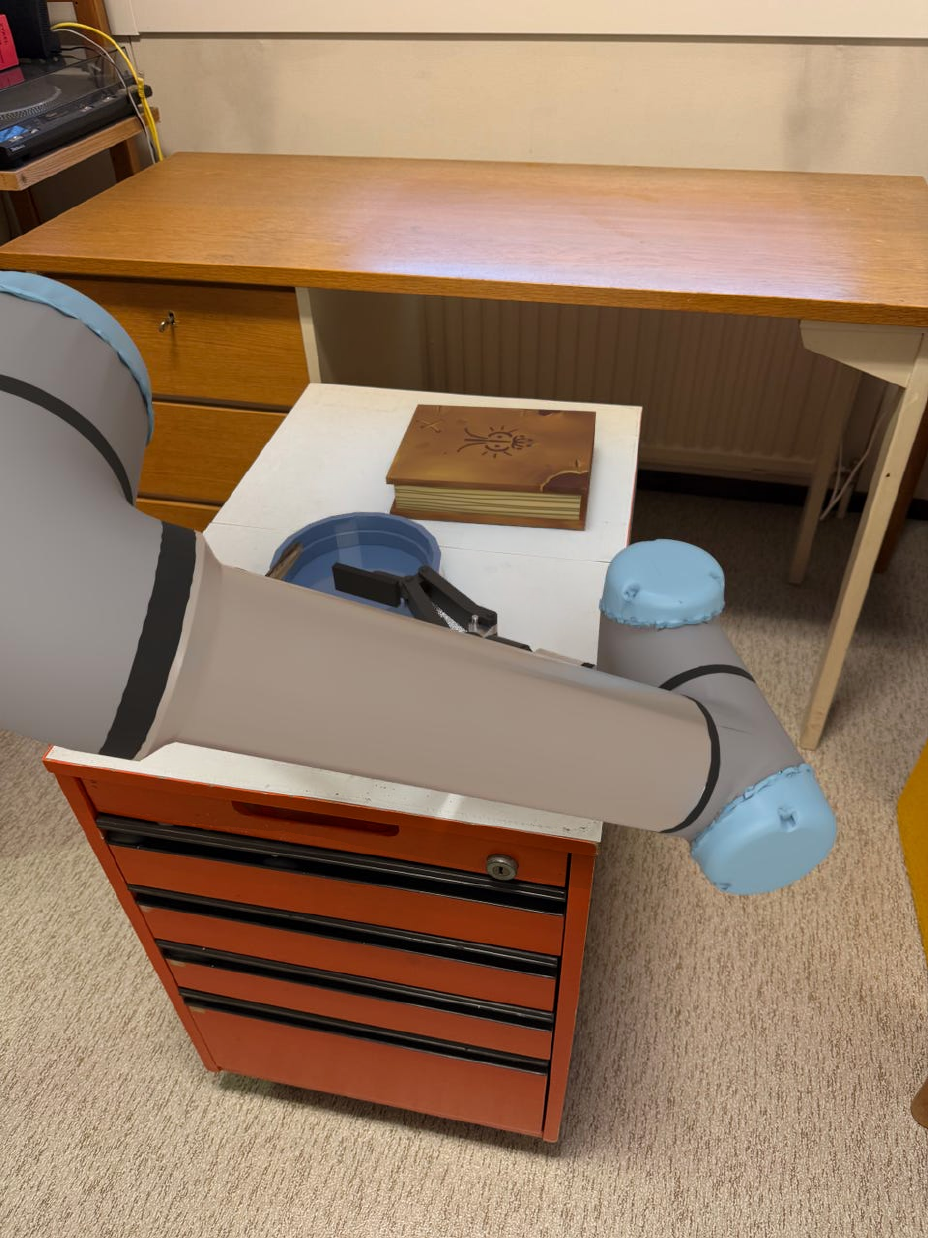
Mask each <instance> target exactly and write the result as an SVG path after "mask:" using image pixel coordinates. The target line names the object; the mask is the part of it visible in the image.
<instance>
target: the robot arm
mask: <svg viewBox="0 0 928 1238" xmlns="http://www.w3.org/2000/svg"><path fill="white" fill-rule="evenodd" d="M152 394H153V393H152V385H151V380H150V375H149V371H148V369H147V366H146V363H145V361H144V358H143V357H142V355H141V352H140V351H139V348H138V347H137V345H136V344H135V342H134V340H133V339H132V337H130V335H129V334H128V332H127V331H126V330H125V328H124V327H123V326H122V325H121V324H120V323H119V322H118V321H117V320H116V318H114V317H113V315H111V313H109V312H108V311H107V310H106V309H104V308H103V307H102V306H101V305H100V304H98V303H97V302H96V301H94V300H93V299H92V298H90V297H88V296H86V295H85V294H83V293H82V292H80V291H79V290H77V289H74V288H73V287H71V286H69V285H67V284H65V283H62V282H60V281H57V280H55V279H52V278H49V277H46V276H44V275H43V276H42V275H39V274H34V273H32V272H31V273H30V272H22V271H15V270H9V271H8V270H6V271H4V270H3V271H2V270H0V729H1V730H5V731H8V732H10V733H13V734H16V735H19V736H22V737H25V738H27V739H30V740H32V741H36V742H40V743H44V744H48V745H51V746H54V747H58V748H62V749H65V750H69V751H73V752H79V753H85V754H89V755H97V756H103V757H110V758H114V759H120V760H127V761H131V762H133V761H134V762H138V763H139V762H141V761H143V760H144V759H146V758H147V757H149V756H151V755H153V754H154V753H155V752H157V751H159V750H160V749H162V748H163V747H165V746H169V745H172V744H175V743H179V744H183V745H189V746H194V747H199V748H205V749H209V750H210V749H211V750H216V751H221V752H226V753H232V754H237V755H242V756H248V757H252V758H253V757H254V758H258V759H265V760H269V761H276V762H280V763H285V764H291V765H297V766H302V767H308V768H312V769H316V770H317V769H318V770H324V771H328V772H334V773H338V774H344V775H349V776H356V777H360V778H366V779H372V780H377V781H383V782H386V783H393V784H398V785H403V786H408V787H414V788H418V789H419V788H420V789H424V790H425V789H426V790H430V791H436V792H440V793H446V794H447V793H448V794H453V795H457V796H463V797H468V798H474V799H478V800H479V799H480V800H484V801H488V802H489V801H490V802H494V803H501V804H507V805H512V806H517V807H521V808H528V809H533V810H538V811H543V812H548V813H555V814H560V815H565V816H571V817H575V818H581V819H587V820H591V821H596V822H597V821H598V822H603V823H608V824H613V825H618V826H624V827H629V828H634V829H641V830H645V831H646V830H647V831H649V832H652V833H658V834H662V835H666V836H670V837H677V838H682V839H683V840H685V841H686V842H687V844H688V846H689V848H690V849H689V850H690V851H689V855H690V857H691V858H690V859H692V861H695V862H696V863H697V865H698V867H699V868H700V870H701V872H702V874H703V875H704V876H705V878H706V880H707V881H708V882H709V883H710V884H712V885H713V886H715V887H716V889H718V890H719V891H722V892H723V893H726V894H730V895H737V896H754V895H761V894H766V893H771V892H775V891H777V890H780V889H782V888H786V887H787V886H789V885H792V884H794V883H796V882H798V881H799V880H801V879H803V878H804V877H806V876H808V875H809V874H810V873H811V871H813V870H814V869H815V868H816V867H817V866H819V865H820V864H821V863H822V862H824V861H825V859H827V857H829V854H830V853H831V851H832V850H833V848H834V846H835V843H836V840H837V837H838V822H837V821H838V820H837V818H836V815H835V813H834V811H833V809H832V807H831V805H830V803H829V802H828V799H827V797H826V796H825V793H824V791H823V789H822V788H821V785H820V783H819V782H818V780H817V778H816V772H815V769H814V768H813V767H812V765H811V764H809V763H807V762H806V760H805V759H804V757H803V756H802V754H801V753H800V751H799V749H798V748H797V746H796V745H795V743H794V741H793V740H792V739H791V737H790V735H789V733H788V732H787V730H786V728H785V727H784V726H783V724H782V722H781V721H780V719H779V717H778V716H777V714H776V712H775V711H774V710H773V708H772V706H771V705H770V703H769V702H768V700H767V698H766V697H765V695H764V693H763V692H762V690H761V689H760V687H759V685H758V684H757V682H756V680H755V678H754V676H753V675H752V674H751V672H750V670H749V668H748V667H747V665H746V663H745V662H744V660H743V659H742V657H741V655H740V654H739V652H738V650H737V649H736V647H735V645H734V644H733V642H732V641H731V639H730V637H729V636H728V634H727V632H726V631H725V629H724V628H723V626H722V623H721V617H720V616H721V613H723V609H724V608H725V605H726V601H725V578H726V577H725V573H724V571H723V568H722V566H721V565H720V564H719V562H718V561H717V559H716V558H714V557H713V556H712V555H711V554H710V553H709V552H707V551H706V550H704V549H703V548H701V547H698V546H696V545H694V544H691V543H688V542H685V541H681V540H677V539H675V540H674V539H667V538H657V539H655V540H647V541H646V540H645V541H643V540H642V541H639V542H635V543H632V544H630V545H627V546H626V547H624V548H623V549H621V550H620V551H619V552H618V553H616V554H615V556H614V557H613V558H612V559H611V560H610V562H609V564H608V566H607V568H606V573H605V579H604V584H603V589H602V595H601V598H600V599H599V603H598V610H599V623H598V624H599V625H598V627H599V628H598V640H597V652H596V664H594V663H591V662H586V661H583V660H580V659H576V658H573V657H570V656H567V655H563V654H560V653H557V652H553V651H551V650H549V649H548V650H547V649H544V648H541V647H539V648H538V649H536V650H535V651H533V649H532V648H531V647H530V645H529V644H526V643H523V642H520V641H517V640H512V639H509V638H506V637H503V636H499V635H498V634H499V633H498V629H499V628H498V627H499V625H498V623H499V621H498V613H497V612H496V611H494V610H492V609H490V608H487V607H484V606H481V605H479V604H477V603H476V602H474V600H472V599H471V598H470V597H468V596H467V595H466V594H465V593H463V592H462V591H461V590H460V589H458V588H457V587H456V586H455V585H453V584H452V583H451V582H449V581H448V580H447V579H446V578H444V576H443V577H442V576H441V575H439V574H438V573H437V572H436V571H434V570H433V569H432V568H431V567H429V566H421V567H419V568H418V573H417V574H415V575H413V576H412V575H407V576H404V577H400V576H397V575H393V574H389V573H385V572H383V571H373V572H369V571H366V570H362V569H359V568H355V567H352V566H348V565H345V564H341V563H338V562H336V563H335V564H334V565H333V566H332V572H333V578H334V584H335V590H337V591H341V592H344V593H348V594H351V595H354V596H358V597H361V598H364V599H368V600H371V601H375V602H378V603H381V604H385V605H388V606H391V607H395V608H398V606H399V605H400V604H401V598H403V599H404V607H405V608H406V606H407V607H408V609H409V611H410V612H411V614H412V615H413V617H414V618H411V617H407V616H403V615H400V614H396V613H393V612H389V611H386V610H382V609H379V608H375V607H372V606H368V605H365V604H361V603H358V602H354V601H351V600H347V599H344V598H340V597H337V596H333V595H329V594H326V593H322V592H319V591H315V590H312V589H308V588H305V587H301V586H298V585H294V584H291V583H287V582H284V581H280V580H277V579H273V578H270V577H266V576H265V575H263V574H259V573H256V572H252V571H248V570H246V569H244V570H241V569H242V568H240V569H238V568H239V567H236V568H234V567H235V566H231V565H227V564H224V563H223V562H221V560H220V559H219V558H217V557H216V555H215V553H214V552H213V550H212V548H211V546H210V544H209V542H208V541H207V539H206V537H205V535H204V534H203V532H202V531H199V530H195V529H193V528H188V527H185V526H182V525H179V524H175V523H171V522H168V521H165V520H161V519H159V518H157V517H154V516H152V515H149V514H148V513H147V514H146V513H144V512H143V511H142V510H140V509H138V508H136V505H137V499H138V494H139V487H140V481H141V476H142V471H143V470H142V469H143V464H144V458H145V452H146V448H147V447H148V446H149V445H150V443H151V440H152V436H153V432H154V429H155V428H154V427H155V421H154V418H155V409H154V405H153V401H152V400H153V398H152V397H153V395H152ZM245 570H246V571H245ZM431 602H432V603H433V604H434V605H435V607H434V606H433V604H432V603H431ZM436 607H437V608H438V609H439V610H440V611H441V612H443V613H444V614H445V615H446V616H447V617H449V618H450V619H451V621H453V622H455V624H457V625H458V626H459V627H461V629H462V630H464V632H463V631H461V630H460V631H459V630H456V629H452V627H451V626H450V624H449V623H448V621H447V620H446V618H445V617H444V616H441V615H440V614H439V612H438V610H437V609H436Z"/></svg>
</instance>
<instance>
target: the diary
mask: <svg viewBox="0 0 928 1238" xmlns="http://www.w3.org/2000/svg"><path fill="white" fill-rule="evenodd" d="M596 421H597V411H596V410H595V411H594V410H569V409H546V408H545V409H544V408H543V409H541V408H520V407H519V408H517V407H499V406H498V407H497V406H496V407H494V406H473V405H471V406H470V405H469V406H468V405H448V404H447V405H446V404H425V403H421V404H420V403H418V404H417V405H416V408H415V409H414V411H413V414H412V417H411V418H410V421H409V423H408V425H407V428H406V430H405V433H404V435H403V437H402V439H401V442H400V444H399V446H398V448H397V450H396V453H395V455H394V457H393V460H392V462H391V464H390V466H389V469H388V471H387V473H386V475H385V485H393V491H394V500H393V502H392V505H391V507H390V509H389V514H392V515H397V516H402V517H405V518H407V519H409V520H421V521H438V522H455V523H469V524H484V525H485V524H486V525H500V526H501V525H502V526H517V527H518V526H519V527H534V528H535V527H536V528H549V529H551V528H552V529H567V530H583V531H584V530H585V529H586V519H587V513H588V511H587V510H588V503H589V493H590V486H591V485H590V484H591V476H592V470H593V469H592V468H593V460H594V450H595V437H596V424H597V423H596Z"/></svg>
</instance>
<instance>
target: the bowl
mask: <svg viewBox="0 0 928 1238" xmlns="http://www.w3.org/2000/svg"><path fill="white" fill-rule="evenodd" d="M299 541H301V544H302V547H303V551H302V552H301V553H300V555H299V556H298V558H297V559H296V561H295V562H294V564H293V565H292V567H291V568H290V570H289V571H288V572H287V574H286V575H285V576H284V578H283V579H282V580H281V581H284V582H287V583H291V584H294V585H298V586H301V587H305V588H308V589H312V590H315V591H319V592H322V593H326V594H329V595H333V596H337V597H340V598H344V599H347V600H351V601H354V602H358V603H361V604H365V605H368V606H372V607H375V608H379V609H382V610H386V611H389V612H393V613H396V614H400V615H403V616H407V617H411V618H414V617H413V615H412V614H411V612H410V611H409V609H408V607H407V606H406V608H405V607H404V599H403V598H401V604H400V605H399V606H398V608H395V607H391V606H388V605H385V604H381V603H378V602H375V601H371V600H368V599H364V598H361V597H358V596H354V595H351V594H348V593H344V592H341V591H337V590H335V584H334V578H333V572H332V566H333V565H334V564H335V563H336V562H338V563H341V564H345V565H348V566H352V567H355V568H359V569H362V570H366V571H369V572H373V571H383V572H385V573H389V574H393V575H397V576H400V577H404V576H407V575H412V576H413V575H415V574H417V573H418V568H419V567H421V566H429V567H431V568H432V569H433V570H434V571H436V572H437V573H438V574H439V575H441V576H442V577H443V578H444V575H443V557H442V556H443V555H442V550H441V549H440V546H439V544H438V541H437V539H436V537H435V536H434V535H433V534H432V533H431V532H430V531H429V530H428V529H427V528H426V527H424V526H423V525H422V524H420V523H418V522H416V521H414V520H412V519H407V518H405V517H402V516H397V515H392V514H390V513H386V512H380V511H353V512H347V513H341V514H335V515H330V516H327V517H323V518H322V519H319V520H316V521H314V522H313V521H312V522H310V523H308V524H306V525H305V526H303V527H301V528H300V529H298V530H296V531H295V532H293V533H292V534H290V535H289V536H287V537H286V539H285V540H284V541H283V542H282V543H281V544H280V545H279V546H278V547H277V549H275V551H274V554H273V556H272V558H271V562H270V564H269V567H268V568H269V570H270V569H271V568H272V567H273V566H274V565H275V563H276V562H277V561H278V560H279V558H280V557H281V556H282V555H283V553H284V552H285V550H286V549H287V548H288V547H290V546H291V545H292V544H293V543H295V542H299ZM431 603H432V602H431ZM432 604H433V603H432ZM433 606H434V607H435V608H436V605H434V604H433Z"/></svg>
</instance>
